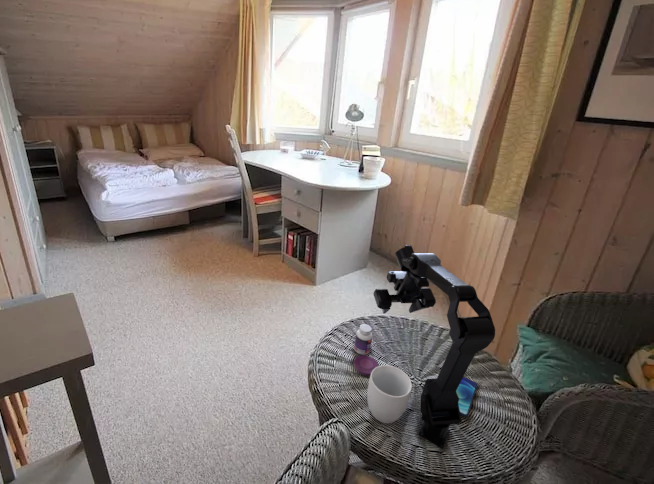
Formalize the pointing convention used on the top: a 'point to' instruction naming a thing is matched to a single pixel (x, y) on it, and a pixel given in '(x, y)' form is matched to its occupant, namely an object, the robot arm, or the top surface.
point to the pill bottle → (363, 339)
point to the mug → (388, 393)
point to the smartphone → (465, 395)
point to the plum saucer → (365, 364)
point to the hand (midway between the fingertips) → (396, 312)
